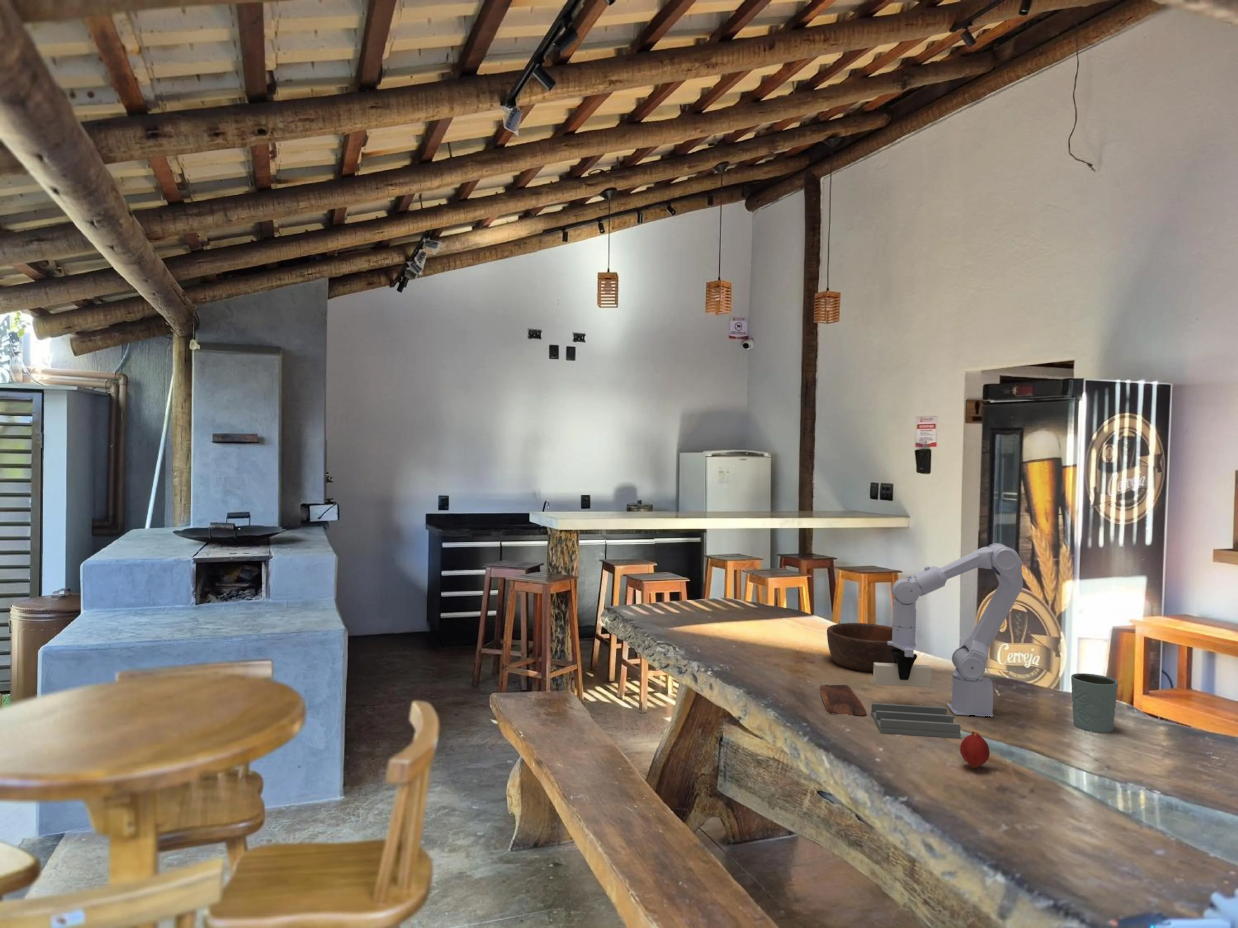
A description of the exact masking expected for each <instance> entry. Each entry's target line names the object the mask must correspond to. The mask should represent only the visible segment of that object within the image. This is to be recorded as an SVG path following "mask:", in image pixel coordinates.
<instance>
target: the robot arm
mask: <svg viewBox="0 0 1238 928" xmlns="http://www.w3.org/2000/svg"><path fill="white" fill-rule="evenodd" d="M1023 564H1024V563H1023V561H1022V559H1021V557H1020V556H1019V554H1018V552H1017V551H1016V550H1015V549H1013V548H1012V547H1008V546H1006V545H1005V544H1003V543H999V542H997V543H996V542H994V543H991V544H989V545H988V546H983V547H980V548H978V549H976V550H974V551H972V552H971V553H968V554H965V555H964V556H962V557H959V558H958V559H956V560H953V561H952V562H950V563H949V564H946V565H944V566H942V567H938V566H937V565H936V566H935V565H931V566H929V565H926V566H924V567H923V570H921V571H919V572H917V573H914V574H912V575H911V574H908V575H906V578H900V579H897V580H896V581H895V582H894V584H893V585H892V587H891V593H892V595H893V607H892V627H893V628H892V641H887V644H888V645H892V646H894V647H891V648H890V650H891V652H892V655H893V658H894V662H895V664H897V665H898V673H899V678H900V680H908V679H909V676H910V672H911V669H912V666H913V665H914V664H915V661H916V660H917V658H918V655H917V653H914V650H915V649H916V647H917V643H916V628H917V627H916V624H917V623H916V622H917V608H916V606H917V605H916V604H917V603H916V602H917V601H918V600H919V597H923V596H926V595H927V594H930V593H932V592H935V591H936V590H939V589H941V588H943V587H945V585H946V583H947V581H948V580H949V579H952V578H955V577H957V576H959V575H961V574H962V575H963V574H964V573H967V572H969V571H973V570H974V569H977V568H978V569H985V570H987V569H988V570H993V571H994V574H995V576H996V579H997V581H998V585H997V588H996V589H995V591H994V593H993V594H992V596H991V598H990V600H989V602H988V604H987V605H986V607H985V610H984V611H983V613H982V614H981V616H980V618H979V620H978V621H977V624H976V625H975V627H974V629H973V631H972V632H971V635H970V636H969V637H968V638H966V639H965V640H963V643H962V645H960V647H958V648H956V649H955V650H954V651H953V653H952V654H951V656H952V657H951V662H952V664H953V666H954V668H955V669H954V671H953V673H952V680H951V681H952V685H951V687H952V688H951V689H952V690H951V703H949V702H948V703H946V706H947V707H948V709H949V710H950V711H951V712H952V714H954V716H955V715H956V716H969V715H975V716H974V717H985V716H988V718H993V717H994V714H993V711H994V709H993V708H994V707H993V706H994V685H993V682H992V679H990V678H988V677H984V673H985V671H986V662H987V661H988V658H989V653H990V648H991V645H992V644H993V642H994V639H995V638H996V636H997V634H998V633H999V631H1000V629H1001V627H1002V626H1003V624H1004V622H1005V620H1006V618H1007V617H1008V615H1009V613H1010V611H1011V610H1012V608H1013V605H1015V602H1016V601H1017V599H1018V597H1019V595H1020V594H1021V592H1022V589H1023V587H1024V579H1023ZM989 716H990V717H989Z"/></svg>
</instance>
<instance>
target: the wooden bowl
mask: <svg viewBox="0 0 1238 928" xmlns="http://www.w3.org/2000/svg"><path fill="white" fill-rule="evenodd" d="M892 628H893V626H889V625H882V624H875V623H864V622H863V623H862V622H844V623H836V624H832V625H830V626H828V627H827V629H826V636H827V637H826V638H827V645H828V650H829V653H830V656H831V658H832V660H833V661H834V662H835V664H837V665H838V666H841V667H843V668H845V669H848V670H849V669H850V670H853V671H857V672H865V673H866V672H867V673H873V668H874V662H875V663H894V664H895V662H894V658H893V655H892V652H891V650H890V648H891V647H894V646H892V645H888V644H887V641H892Z"/></svg>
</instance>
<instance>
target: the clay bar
mask: <svg viewBox="0 0 1238 928" xmlns="http://www.w3.org/2000/svg"><path fill="white" fill-rule="evenodd" d="M932 670H933V669H932V667H931V666H930V665H929V664H927V665H926V664H913V666H912V669H911V672H910V676H909V679H908V680H900V678H899V673H898V665H897V664H894V663H875V662H874V668H873V672H872V673H873V675H872V676H873V677H872V681H873V684H874V685H877V686H878V685H879V686H895V687H896V686H897V687H909V688H910V687H915V688H932Z"/></svg>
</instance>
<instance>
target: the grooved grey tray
mask: <svg viewBox="0 0 1238 928" xmlns="http://www.w3.org/2000/svg"><path fill="white" fill-rule="evenodd" d="M870 714H871V717H872V716H873V717H872V718H873V720H874V722H875V725H876V726H877V728H878V731H879V732H880V733H881V734H886V733H890V734H889V735H891V734H892V735H902V734H903V735H906V736H918V737H919V736H921V737H935V738H949V739H961V737H962V735H961V734H962V733H961V724H960V723H957V722H954V720H955V719H954V716H955V715H953V714H948V708H947V707H946V706H930V705H929V706H928V705H912V704H897V703H881V702H880V703H879V702H871V709H870Z"/></svg>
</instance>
